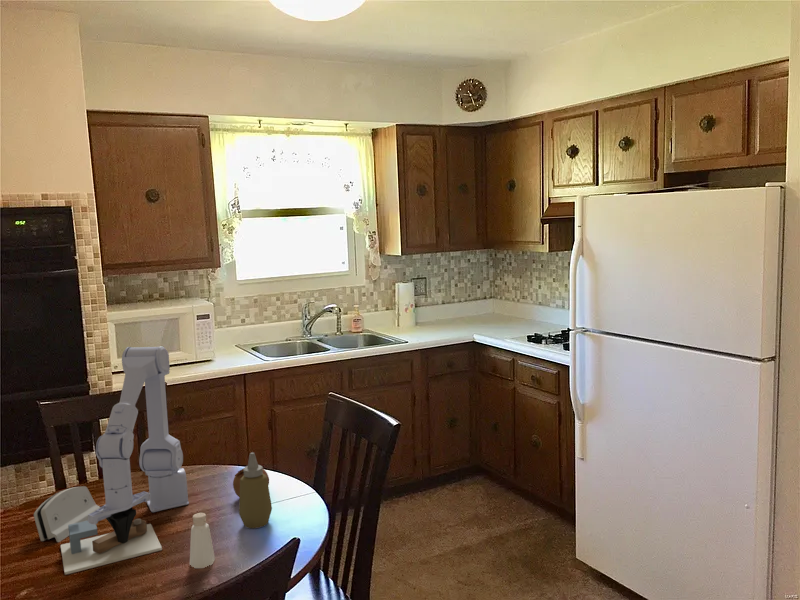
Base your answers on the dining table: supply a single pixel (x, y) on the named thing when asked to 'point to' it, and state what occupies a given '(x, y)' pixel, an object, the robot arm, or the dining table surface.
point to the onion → (237, 481)
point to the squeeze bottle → (254, 495)
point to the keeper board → (83, 556)
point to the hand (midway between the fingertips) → (122, 541)
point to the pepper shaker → (201, 543)
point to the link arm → (111, 539)
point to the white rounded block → (63, 512)
